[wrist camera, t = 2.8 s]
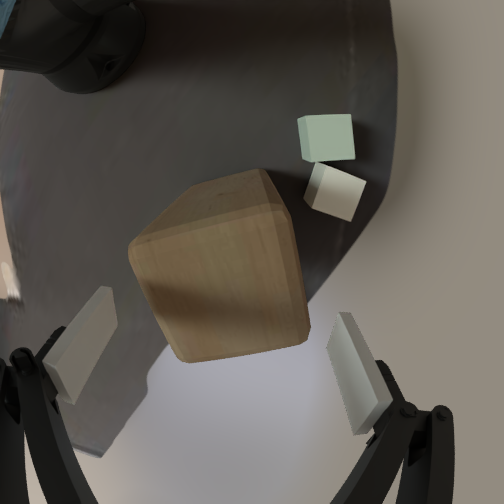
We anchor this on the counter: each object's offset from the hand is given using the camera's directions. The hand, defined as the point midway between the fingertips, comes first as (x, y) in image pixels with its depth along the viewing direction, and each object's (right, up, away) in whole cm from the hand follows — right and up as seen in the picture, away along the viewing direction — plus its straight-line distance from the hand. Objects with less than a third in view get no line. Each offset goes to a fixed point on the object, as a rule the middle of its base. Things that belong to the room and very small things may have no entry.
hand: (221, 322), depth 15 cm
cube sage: (+10, +18, +16) cm, 26 cm away
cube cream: (+11, +12, +18) cm, 25 cm away
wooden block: (0, +9, +20) cm, 22 cm away
